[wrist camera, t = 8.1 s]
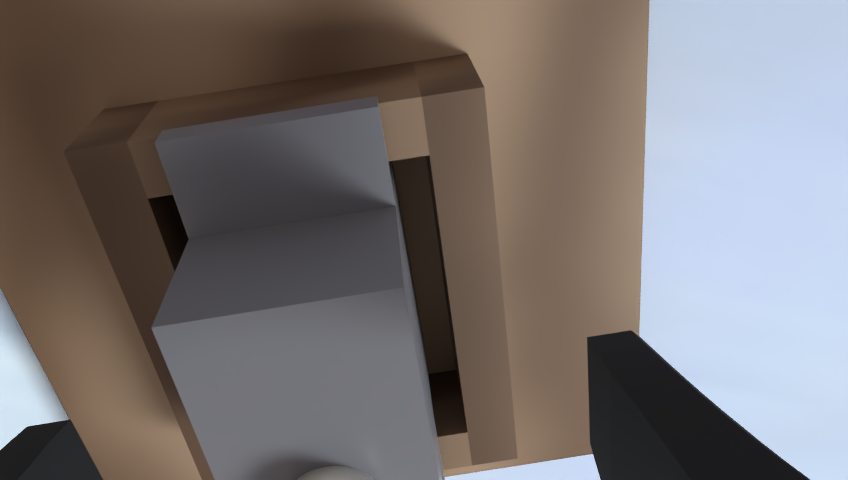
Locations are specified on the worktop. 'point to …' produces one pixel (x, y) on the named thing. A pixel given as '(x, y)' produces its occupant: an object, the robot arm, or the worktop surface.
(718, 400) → the worktop surface
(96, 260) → the dock
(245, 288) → the servo block
